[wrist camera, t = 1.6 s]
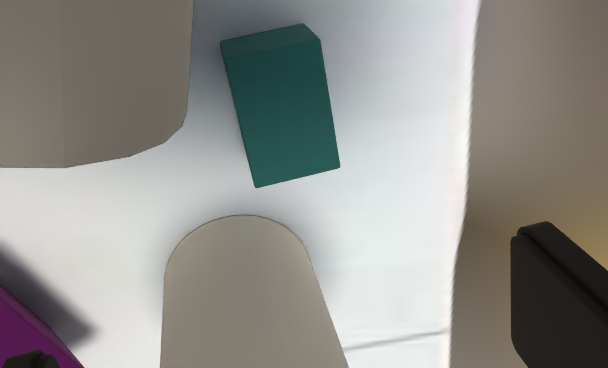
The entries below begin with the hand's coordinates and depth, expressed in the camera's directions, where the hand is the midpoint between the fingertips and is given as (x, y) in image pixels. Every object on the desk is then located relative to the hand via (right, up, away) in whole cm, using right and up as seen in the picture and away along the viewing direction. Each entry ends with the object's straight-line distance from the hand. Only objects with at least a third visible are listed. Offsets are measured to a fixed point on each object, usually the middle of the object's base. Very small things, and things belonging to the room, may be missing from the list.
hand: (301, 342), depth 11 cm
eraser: (-1, +7, +16) cm, 18 cm away
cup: (-4, -2, +20) cm, 21 cm away
